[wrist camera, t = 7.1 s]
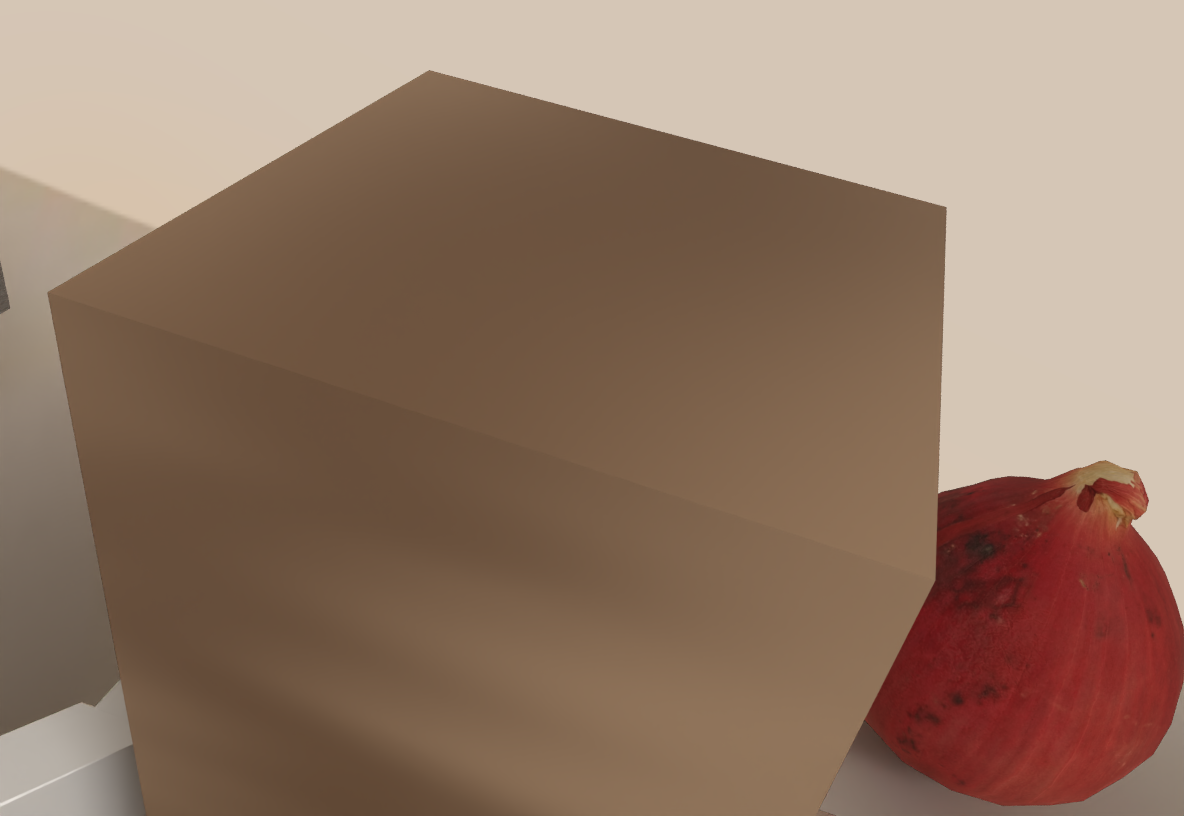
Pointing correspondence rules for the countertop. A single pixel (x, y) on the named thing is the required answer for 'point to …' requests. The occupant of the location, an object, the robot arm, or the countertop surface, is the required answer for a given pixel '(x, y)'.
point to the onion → (1037, 643)
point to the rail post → (509, 469)
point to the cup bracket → (3, 294)
